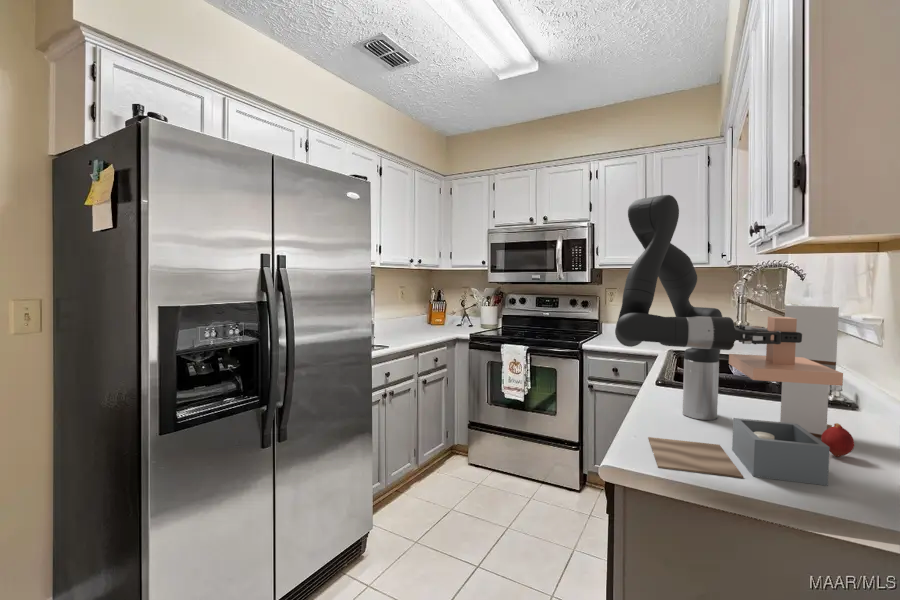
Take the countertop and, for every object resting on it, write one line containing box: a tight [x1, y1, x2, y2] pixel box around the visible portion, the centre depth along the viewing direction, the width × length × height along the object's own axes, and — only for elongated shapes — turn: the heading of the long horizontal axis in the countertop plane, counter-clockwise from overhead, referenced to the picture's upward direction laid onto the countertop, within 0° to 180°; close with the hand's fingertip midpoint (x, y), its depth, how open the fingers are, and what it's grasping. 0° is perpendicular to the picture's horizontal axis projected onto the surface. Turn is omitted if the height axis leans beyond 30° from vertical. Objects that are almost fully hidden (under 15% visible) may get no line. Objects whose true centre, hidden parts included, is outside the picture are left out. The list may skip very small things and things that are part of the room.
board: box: [647, 436, 744, 479], centre depth 103 cm, size 18×16×1 cm
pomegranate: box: [821, 422, 855, 458], centre depth 103 cm, size 6×6×8 cm
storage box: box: [731, 417, 830, 486], centre depth 98 cm, size 15×13×8 cm
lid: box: [728, 316, 844, 387], centre depth 96 cm, size 17×15×12 cm
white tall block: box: [779, 303, 840, 441], centre depth 117 cm, size 11×11×35 cm
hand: (795, 336), depth 95 cm, fingers closed on lid, 4 cm apart
